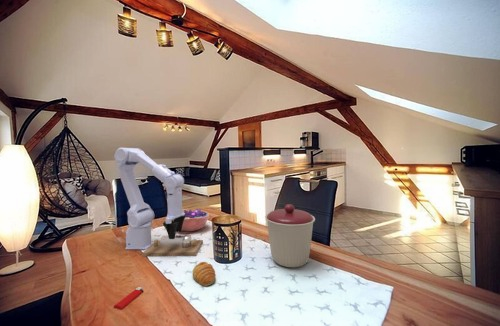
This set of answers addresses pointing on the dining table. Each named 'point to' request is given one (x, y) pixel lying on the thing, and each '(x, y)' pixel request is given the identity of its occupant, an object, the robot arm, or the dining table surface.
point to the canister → (290, 235)
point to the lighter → (129, 298)
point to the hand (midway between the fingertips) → (175, 235)
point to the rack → (173, 249)
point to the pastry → (204, 273)
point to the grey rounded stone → (176, 241)
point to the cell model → (195, 219)
